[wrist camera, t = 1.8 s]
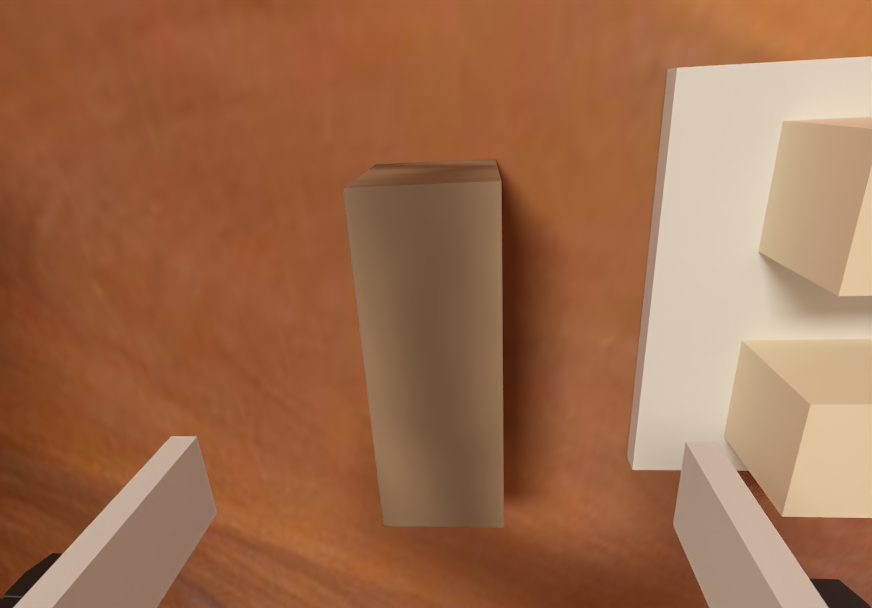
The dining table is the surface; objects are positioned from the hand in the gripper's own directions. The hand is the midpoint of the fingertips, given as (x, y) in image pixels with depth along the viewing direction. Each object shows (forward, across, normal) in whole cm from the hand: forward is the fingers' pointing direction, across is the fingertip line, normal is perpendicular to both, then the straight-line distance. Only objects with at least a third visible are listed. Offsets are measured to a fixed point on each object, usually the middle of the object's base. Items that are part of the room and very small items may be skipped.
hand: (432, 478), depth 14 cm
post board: (+11, +16, +1) cm, 19 cm away
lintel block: (+11, 0, 0) cm, 11 cm away
